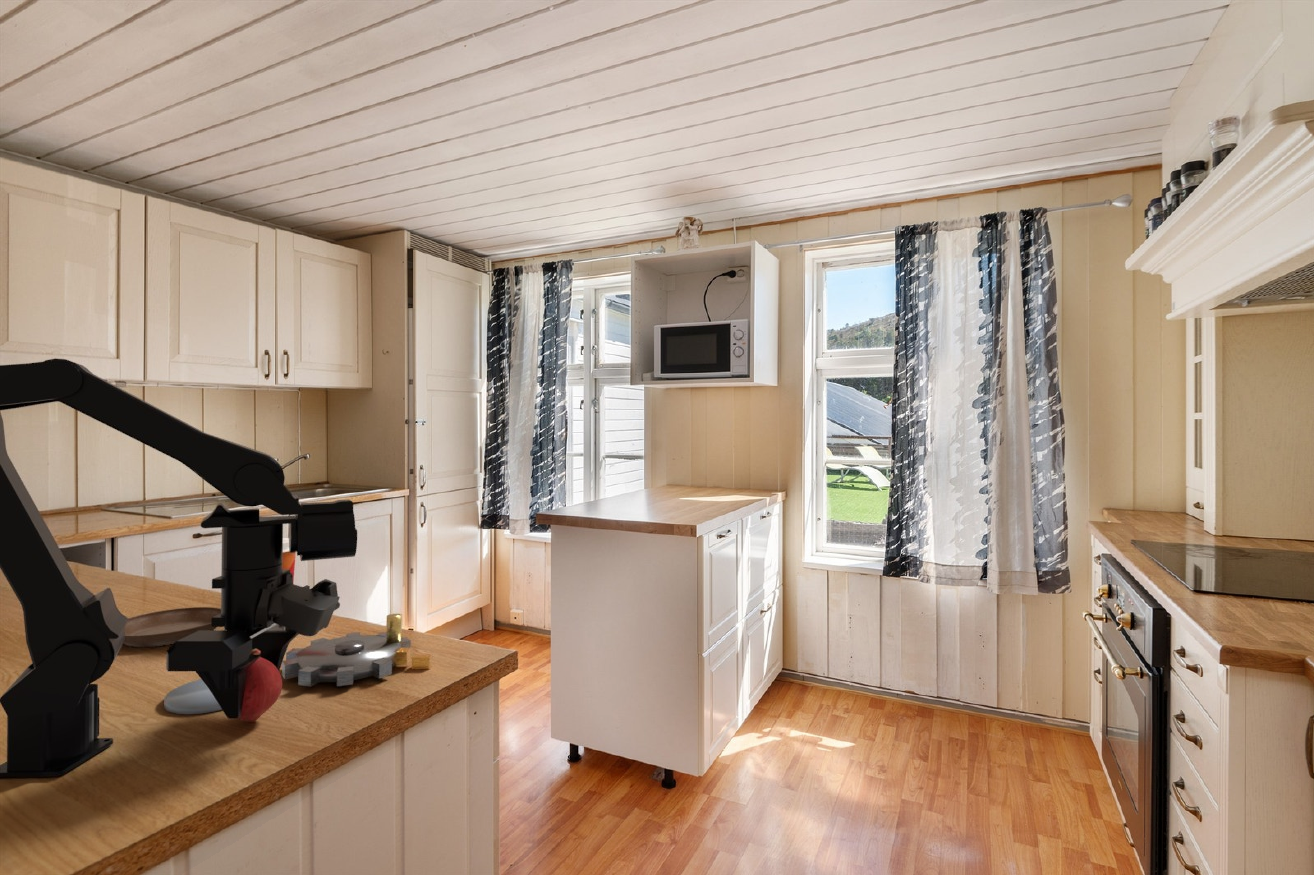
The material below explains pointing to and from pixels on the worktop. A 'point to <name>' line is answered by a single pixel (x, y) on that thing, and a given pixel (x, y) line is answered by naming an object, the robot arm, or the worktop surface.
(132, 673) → the worktop surface
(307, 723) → the worktop surface
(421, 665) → the wooden toy brick
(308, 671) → the sprocket
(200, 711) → the coaster
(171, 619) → the saucer
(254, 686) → the onion
